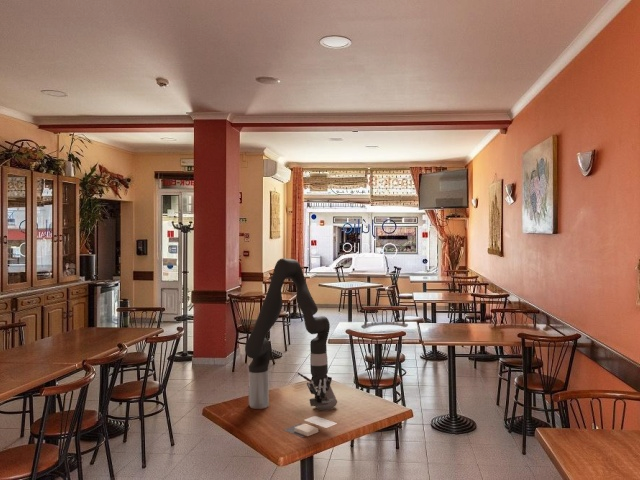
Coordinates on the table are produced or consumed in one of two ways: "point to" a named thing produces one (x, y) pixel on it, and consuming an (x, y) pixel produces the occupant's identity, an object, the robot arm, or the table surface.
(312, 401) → the grey post on base
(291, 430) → the mat
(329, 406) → the coffee pot
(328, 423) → the rest pad
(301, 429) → the tile
